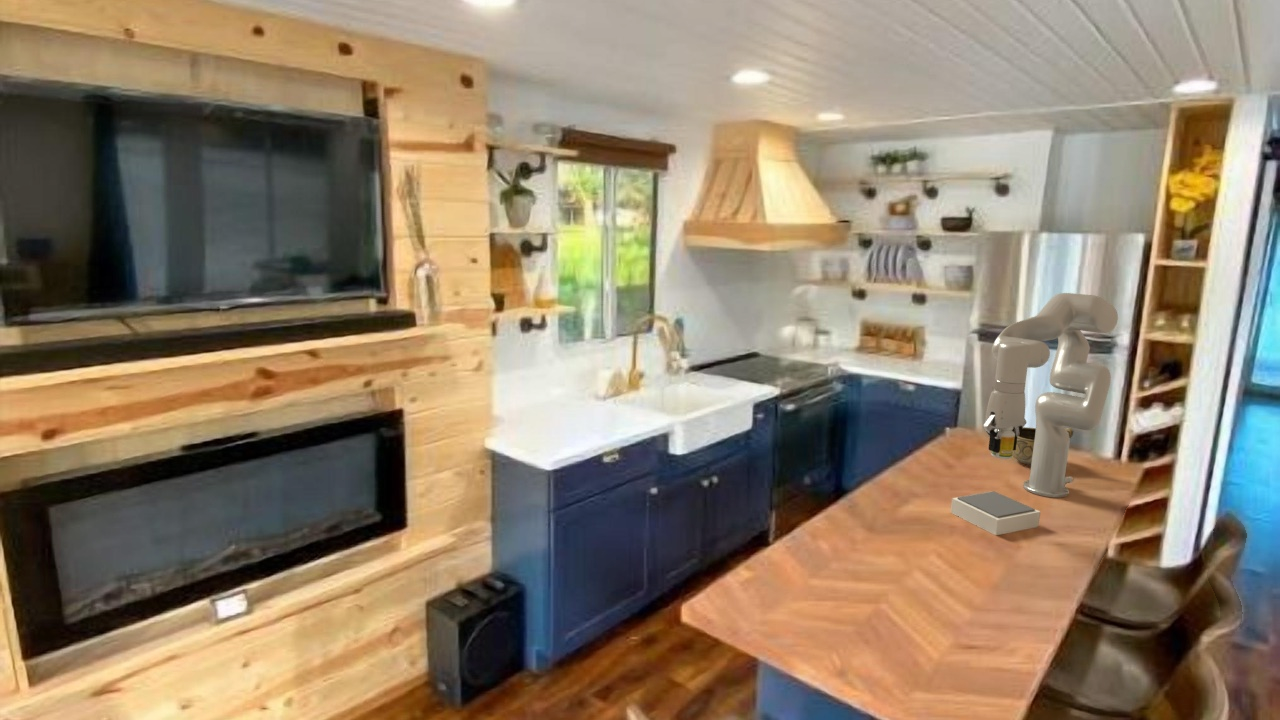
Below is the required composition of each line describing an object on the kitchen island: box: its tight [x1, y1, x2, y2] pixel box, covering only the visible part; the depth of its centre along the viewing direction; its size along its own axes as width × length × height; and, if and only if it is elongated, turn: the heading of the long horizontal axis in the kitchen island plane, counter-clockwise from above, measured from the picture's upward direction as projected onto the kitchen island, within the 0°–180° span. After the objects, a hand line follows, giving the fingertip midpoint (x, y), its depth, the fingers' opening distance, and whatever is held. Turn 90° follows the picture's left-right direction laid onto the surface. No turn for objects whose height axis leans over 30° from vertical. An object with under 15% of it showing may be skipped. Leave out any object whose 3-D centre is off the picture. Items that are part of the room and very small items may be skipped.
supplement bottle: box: [990, 426, 1015, 460], centre depth 199 cm, size 5×5×10 cm
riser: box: [950, 490, 1041, 536], centre depth 203 cm, size 16×16×5 cm
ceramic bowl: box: [1012, 426, 1074, 467], centre depth 249 cm, size 22×17×15 cm
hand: (1002, 449), depth 200 cm, fingers closed on supplement bottle, 5 cm apart
